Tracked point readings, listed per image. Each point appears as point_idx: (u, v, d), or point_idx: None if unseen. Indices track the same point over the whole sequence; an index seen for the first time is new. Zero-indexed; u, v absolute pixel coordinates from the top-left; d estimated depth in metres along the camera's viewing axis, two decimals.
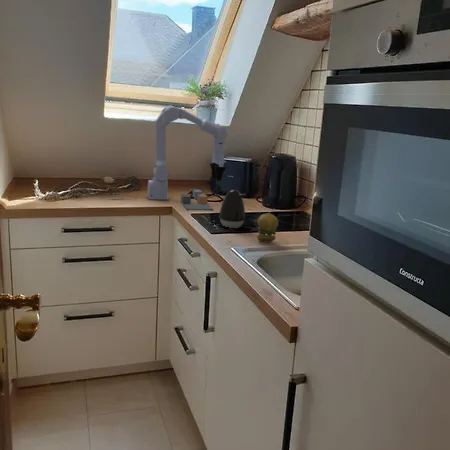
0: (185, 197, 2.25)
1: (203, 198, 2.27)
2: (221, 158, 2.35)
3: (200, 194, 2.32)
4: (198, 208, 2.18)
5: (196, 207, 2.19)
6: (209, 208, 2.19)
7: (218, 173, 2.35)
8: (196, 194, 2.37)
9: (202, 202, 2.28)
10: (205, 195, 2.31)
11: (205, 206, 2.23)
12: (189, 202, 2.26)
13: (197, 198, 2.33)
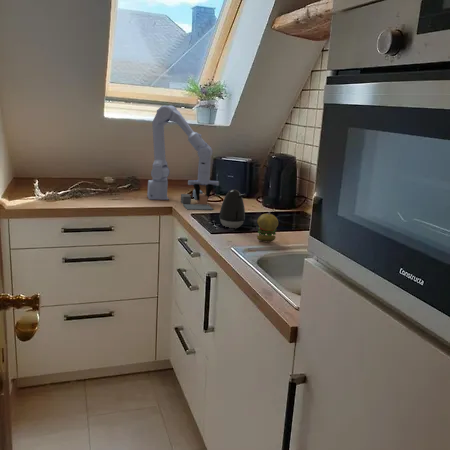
0: (185, 197, 2.25)
1: (203, 198, 2.27)
2: (198, 178, 2.26)
3: (200, 194, 2.32)
4: (198, 208, 2.18)
5: (196, 207, 2.19)
6: (209, 208, 2.19)
7: (197, 192, 2.29)
8: None
9: (202, 202, 2.28)
10: (205, 195, 2.31)
11: (205, 206, 2.23)
12: (189, 202, 2.26)
13: None
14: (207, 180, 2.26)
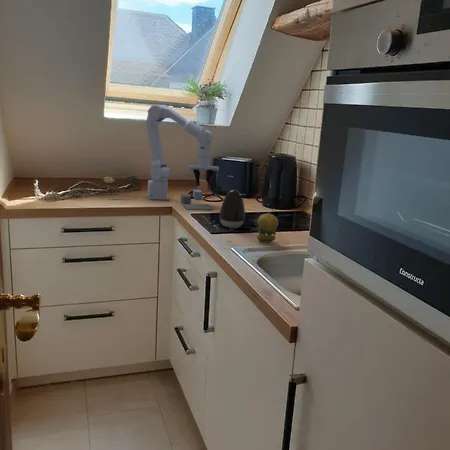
0: (185, 197, 2.25)
1: (203, 183, 2.23)
2: (198, 163, 2.22)
3: None
4: (198, 208, 2.18)
5: (196, 207, 2.19)
6: (209, 208, 2.19)
7: (197, 177, 2.25)
8: (196, 194, 2.37)
9: (202, 187, 2.24)
10: (205, 180, 2.27)
11: (205, 206, 2.23)
12: (189, 202, 2.26)
13: None
14: (207, 165, 2.22)
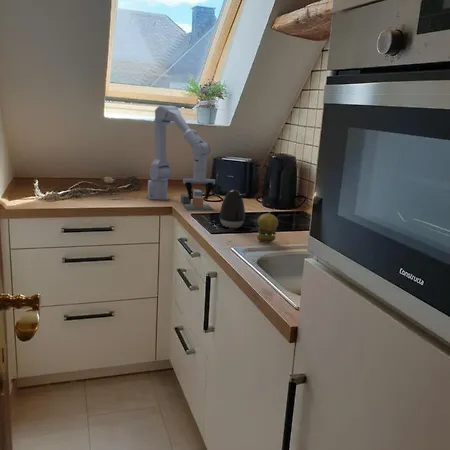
0: (185, 197, 2.25)
1: (198, 200, 2.18)
2: (194, 176, 2.17)
3: (195, 196, 2.23)
4: (198, 208, 2.18)
5: None
6: (209, 208, 2.19)
7: (189, 191, 2.19)
8: (196, 194, 2.37)
9: (197, 204, 2.19)
10: (201, 197, 2.21)
11: (205, 206, 2.23)
12: (189, 202, 2.26)
13: None
14: (203, 178, 2.16)
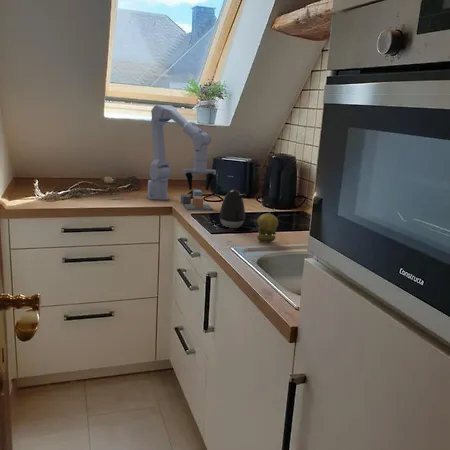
0: (185, 197, 2.25)
1: (198, 200, 2.18)
2: (194, 166, 2.15)
3: (195, 196, 2.23)
4: (198, 208, 2.18)
5: None
6: (209, 208, 2.19)
7: None
8: (196, 194, 2.37)
9: (197, 204, 2.19)
10: (201, 197, 2.21)
11: (205, 206, 2.23)
12: (189, 202, 2.26)
13: None
14: (204, 168, 2.15)
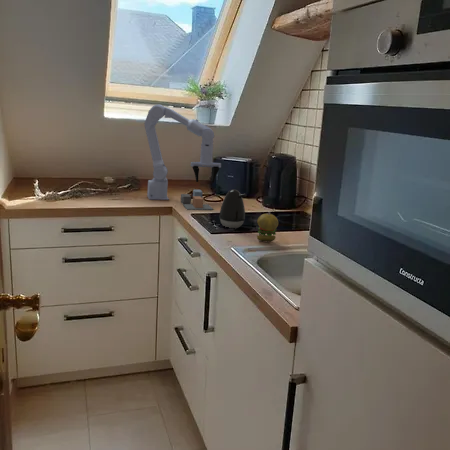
0: (185, 197, 2.25)
1: (198, 200, 2.18)
2: (201, 159, 2.30)
3: (195, 196, 2.23)
4: (198, 208, 2.18)
5: None
6: (209, 208, 2.19)
7: (196, 174, 2.32)
8: (196, 194, 2.37)
9: (197, 204, 2.19)
10: (201, 197, 2.21)
11: (205, 206, 2.23)
12: (189, 202, 2.26)
13: None
14: (209, 162, 2.29)
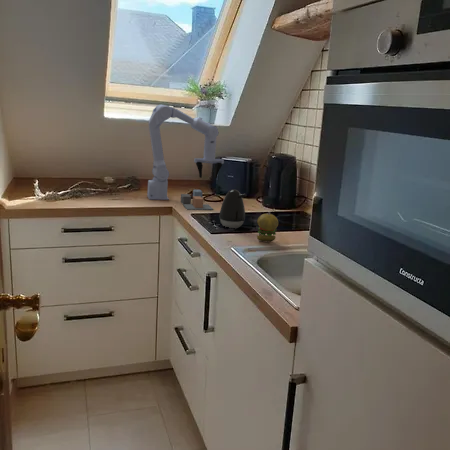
0: (185, 197, 2.25)
1: (198, 200, 2.18)
2: (204, 156, 2.36)
3: (195, 196, 2.23)
4: (198, 208, 2.18)
5: None
6: (209, 208, 2.19)
7: None
8: (196, 194, 2.37)
9: (197, 204, 2.19)
10: (201, 197, 2.21)
11: (205, 206, 2.23)
12: (189, 202, 2.26)
13: None
14: (213, 158, 2.36)
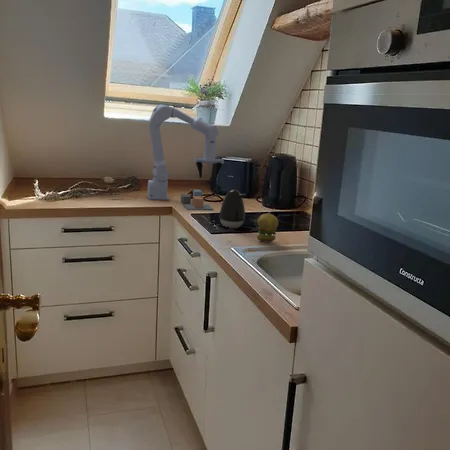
0: (185, 197, 2.25)
1: (198, 200, 2.18)
2: (204, 156, 2.36)
3: (195, 196, 2.23)
4: (198, 208, 2.18)
5: None
6: (209, 208, 2.19)
7: None
8: (196, 194, 2.37)
9: (197, 204, 2.19)
10: (201, 197, 2.21)
11: (205, 206, 2.23)
12: (189, 202, 2.26)
13: None
14: (213, 158, 2.36)
